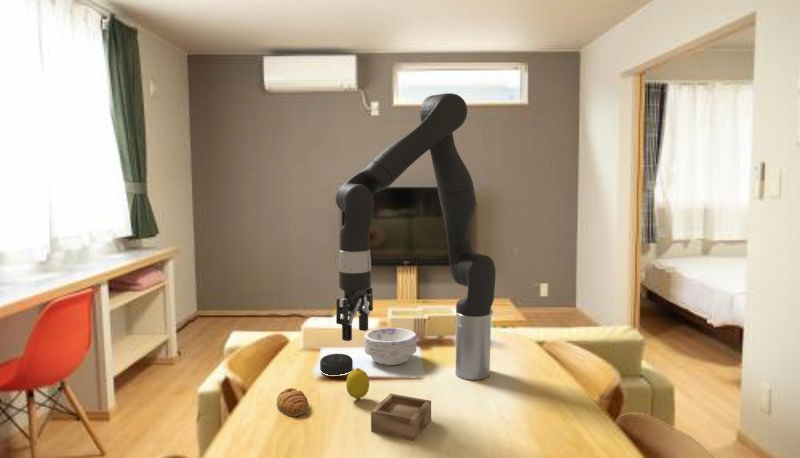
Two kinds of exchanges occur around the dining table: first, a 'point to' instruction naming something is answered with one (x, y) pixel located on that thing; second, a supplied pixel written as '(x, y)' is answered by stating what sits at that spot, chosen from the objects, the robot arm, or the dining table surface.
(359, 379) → the lemon
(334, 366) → the smart speaker
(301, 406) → the pastry
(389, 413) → the open wooden tray
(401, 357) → the paper bowls
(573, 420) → the dining table surface
